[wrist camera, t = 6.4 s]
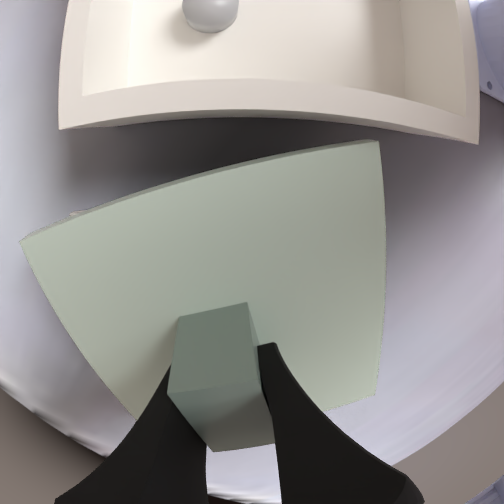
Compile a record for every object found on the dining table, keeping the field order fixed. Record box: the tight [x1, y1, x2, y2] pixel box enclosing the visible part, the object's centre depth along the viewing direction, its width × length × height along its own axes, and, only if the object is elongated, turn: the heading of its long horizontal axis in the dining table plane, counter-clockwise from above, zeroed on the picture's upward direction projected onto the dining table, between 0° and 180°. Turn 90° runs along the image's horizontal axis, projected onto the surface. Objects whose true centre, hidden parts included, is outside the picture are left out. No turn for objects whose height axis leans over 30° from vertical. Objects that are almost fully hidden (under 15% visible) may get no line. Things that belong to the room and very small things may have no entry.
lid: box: [19, 139, 386, 452], centre depth 10 cm, size 13×13×5 cm
